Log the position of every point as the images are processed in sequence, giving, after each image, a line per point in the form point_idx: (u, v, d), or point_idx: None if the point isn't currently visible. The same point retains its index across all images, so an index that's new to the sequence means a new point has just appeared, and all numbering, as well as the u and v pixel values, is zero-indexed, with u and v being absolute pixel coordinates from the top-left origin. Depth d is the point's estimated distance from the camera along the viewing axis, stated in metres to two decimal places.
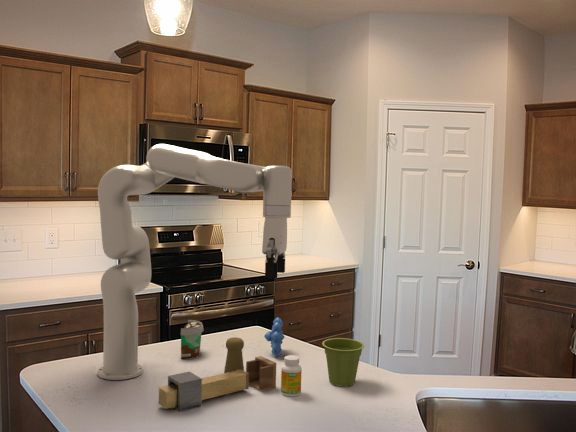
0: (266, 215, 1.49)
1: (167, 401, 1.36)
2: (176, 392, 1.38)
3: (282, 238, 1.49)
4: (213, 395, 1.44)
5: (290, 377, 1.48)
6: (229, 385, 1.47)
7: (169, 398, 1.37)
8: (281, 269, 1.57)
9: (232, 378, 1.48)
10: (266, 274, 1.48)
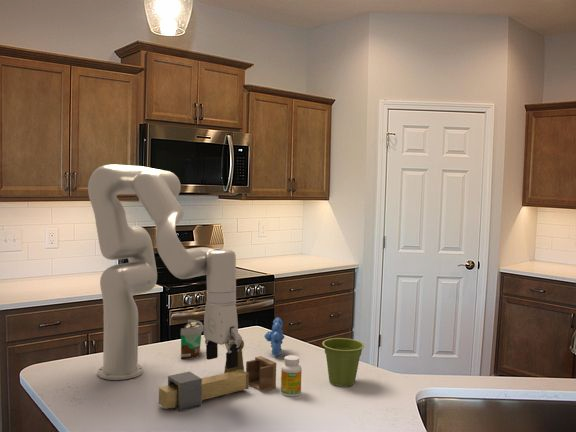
0: (220, 303, 1.43)
1: (167, 401, 1.36)
2: (176, 392, 1.38)
3: None
4: (213, 395, 1.44)
5: (290, 377, 1.48)
6: (229, 385, 1.47)
7: (169, 398, 1.37)
8: (215, 355, 1.51)
9: (232, 378, 1.48)
10: (228, 365, 1.42)
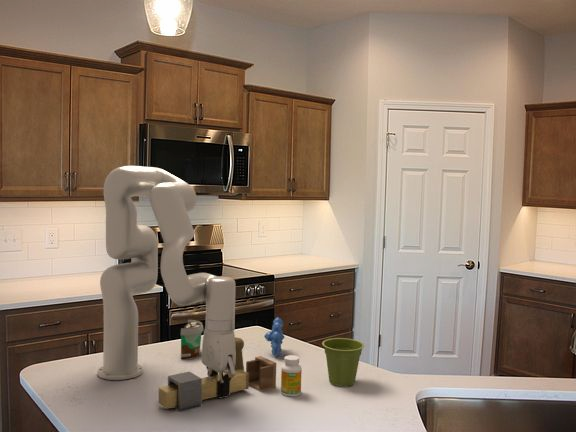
0: (219, 331, 1.43)
1: (167, 401, 1.36)
2: (176, 392, 1.38)
3: None
4: (213, 395, 1.44)
5: (290, 377, 1.48)
6: None
7: (169, 398, 1.37)
8: None
9: (232, 378, 1.48)
10: (220, 394, 1.45)
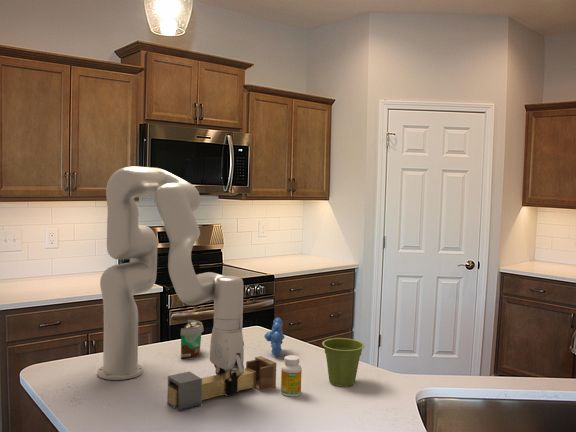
0: (227, 330, 1.45)
1: (176, 398, 1.38)
2: None
3: None
4: (221, 393, 1.46)
5: (290, 377, 1.48)
6: None
7: None
8: None
9: (240, 376, 1.49)
10: (228, 392, 1.46)
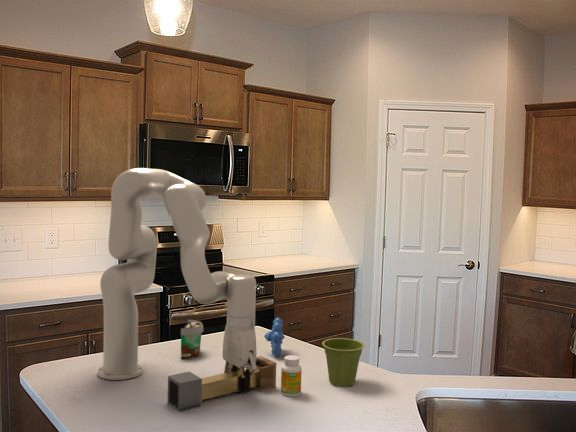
0: (240, 328, 1.47)
1: None
2: None
3: None
4: (234, 389, 1.48)
5: (290, 377, 1.48)
6: None
7: None
8: None
9: (252, 373, 1.52)
10: (241, 389, 1.49)
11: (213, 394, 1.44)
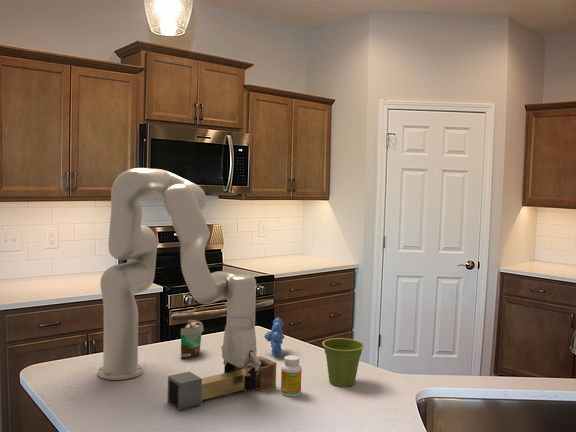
0: (240, 328, 1.47)
1: None
2: None
3: None
4: (234, 389, 1.48)
5: (290, 377, 1.48)
6: None
7: None
8: None
9: None
10: (246, 387, 1.47)
11: (213, 394, 1.44)
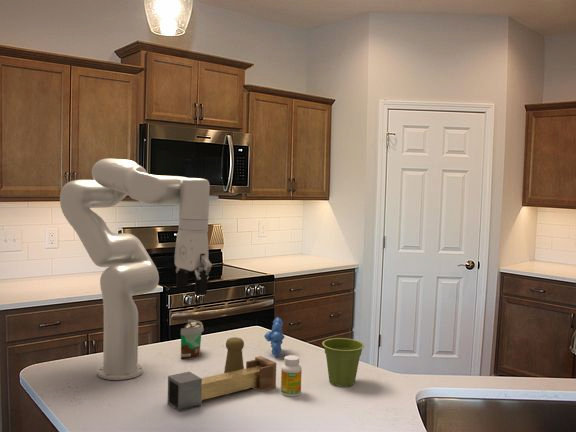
0: (192, 230, 1.43)
1: None
2: None
3: None
4: (234, 389, 1.48)
5: (290, 377, 1.48)
6: (249, 380, 1.51)
7: None
8: (185, 284, 1.51)
9: (252, 373, 1.52)
10: (197, 291, 1.43)
11: (213, 394, 1.44)
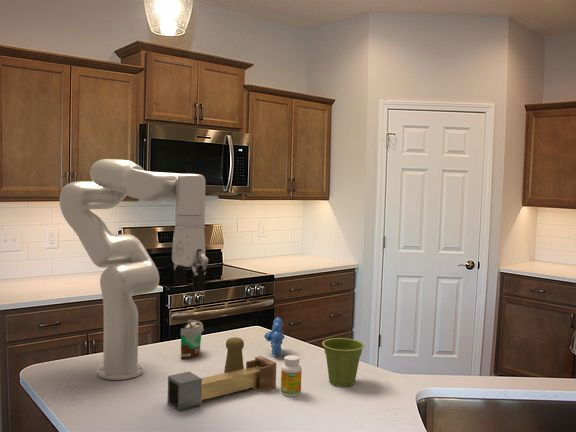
0: (188, 226, 1.42)
1: None
2: None
3: None
4: (234, 389, 1.48)
5: (290, 377, 1.48)
6: (249, 380, 1.51)
7: None
8: (183, 281, 1.51)
9: (252, 373, 1.52)
10: (194, 287, 1.42)
11: (213, 394, 1.44)
